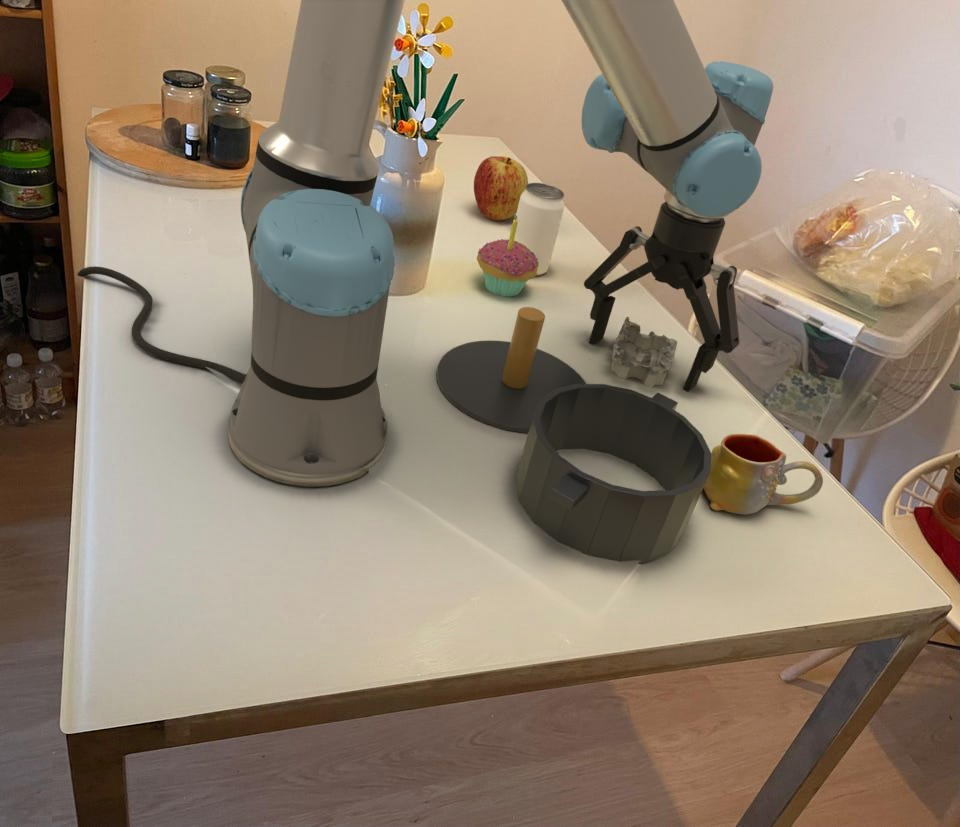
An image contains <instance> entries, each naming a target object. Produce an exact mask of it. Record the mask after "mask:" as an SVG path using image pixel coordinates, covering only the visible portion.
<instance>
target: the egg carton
mask: <svg viewBox="0 0 960 827" xmlns="http://www.w3.org/2000/svg"><path fill="white" fill-rule="evenodd" d="M624 319H625V320H624V321H623V323H622V326H621V328H620V330H619V332H618V333H617V334H618V335H617V337H616V339H615V341H614V343H613V347H612V357H611V364H610V365H611V366H610V371H612V372H614V373H615V374H616V376H617V378H619V379H623V380H627V379H629V378H636V379H638V380H640V381H641V382H642V383H643V385H644V386H645V387H649V388H653V387H654V386H664V382H665V380H666V377H667V375H668V374H667V373H668V370H670V369H671V368H672V366H673V362H674V358H675V354H676V351H677V347H678V341H677V339H674V338H669V337H667V336H666V335H664V334H662V335H658V334H656V333H655V331H652V330H651V331H650V332H649V334H646V333H641V326H640V324H638V323H637V322H633V321H631V320H630V317H629V316H626V317H625V318H624ZM628 342H631V343H633V345H634V346H635V347H637V348H635V350H634V353H633V354H632V355H631V359H630V360H629V361H628V362H627V364H622V361H623V359H624V357H625V353H626V351H627V349H626V346H627V343H628ZM650 349H655V350H658V353H659V354H658V356H657V360H656V364H657V366H652V365H651V361H652V357H653V356H652V355H653V354H652V352H651V351H649V350H650ZM646 350H648V351H646Z"/></svg>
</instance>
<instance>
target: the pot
mask: <svg viewBox="0 0 960 827" xmlns="http://www.w3.org/2000/svg"><path fill="white" fill-rule="evenodd" d="M678 405H679V402H678V401H676V400H674V399H672V398H670V397H669V396H667V395H664V394H662V393H660V392H656V393H655V394H654V395H653V396H652V397H651V396H649V395H645V394H643V393H641V392H638V391H636V390H633V389H629V388H624V387H620V386H616V385H615V386H614V385H611V384H604V383H586V384H575V385H571V386H567V387H563V388H559V389H555V390H553V391H552V392H550V393H549V394H548V395H546V396H545V397H544V398H542V399H541V400H540V401H539V402H538V405H537V407H536V410H535V413H534V415H533V418H532V422H531V425H530V429H529V432H528V433H527V437H526V440H525V443H524V447H523V451H522V454H521V457H520V458H521V459H520V462H519V465H518V469H517V473H516V475H515V480H514V482H515V489H516V493H517V497H518V498H517V499H518V502H519V504H520V506H521V507H522V509H523V510H524V511H525V513H526V514H527V516H528V517H529V518H530V521H531V522H532V523H533V524H534V525H536V526H537V527H538V528H539V529H541V530H542V531H544V532H545V533H546V534H547V535H548V536H549V537H550V538H553V540H555V541H556V542H557V543H559V544H562V545H564V546H566V547H569V548H570V549H573V550H575V551H577V552H579V553H582V554H584V555H586V556H590V557H595V558H599V559H605V560H609V561H615V562H632V561H639V562H638V565H640V564H641V565H642V564H646V563H649V562H653V561H656V560H658V559H660V558H662V557H664V556H666V554H668V553H670V552H671V551H672V550H673V549H674V548H675V547H676V545H677V543H678V542H679V541H680V539H681V537H682V536H683V535H684V533H685V530H686V528H687V526H688V524H689V521H690V519H691V517H692V515H693V512H694V510H695V508H696V506H697V504H698V501H699V499H700V496H701V494H702V492H703V491H704V486H705V483H706V481H707V479H708V477H709V474H710V472H711V455H712V454H711V453H712V451H711V450H710V448H709V445H708V443H707V441H706V439H705V437H704V435H703V434H702V433H701V432H700V431H699V430H698V429H697V428H696V427H695V426H694V424H692V422H691V421H690V420H688V419H687V418H686V417H685V416H684V415H683V414H681V413H680V412H678V411H677V410H676V409H677V407H678ZM581 449H582V450H589V451H593V452H599V453H604V454H608V455H612V456H614V457H617V458H618V459H621V460H623V461H626V462H628V463H630V464H632V465H635V466H636V467H637V468H639V469H640V470H642V471H643V472H645V473H646V474H648V475H649V476H651V477H652V478H654V479H655V480H656V482H657V483H658V484H659V485H660V487H662V489H663V490H639V489H634V488H630V487H625V486H620V485H615V484H611V483H609V482H607V481H605V480H602V479H600V478H598V477H595V476H593V475H590V474H588V473H586V472H584V471H582V470H581V469H579V467H578V468H577V466H575V465H574V464H572V463H571V462H569V461H568V460H567V459H565V457H562V456H561V455H560V454H559V453H558V452H557V451H560V450H581Z"/></svg>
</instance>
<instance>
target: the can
mask: <svg viewBox="0 0 960 827" xmlns="http://www.w3.org/2000/svg"><path fill="white" fill-rule="evenodd" d="M564 197H565V193H564V192H563V191H562V189H560V188H558V187H556V186H555V185H551V184H547V183H542V182H528V184H527V185H526V189H525V191H524V192H523V193H522V194H521V197H520V201H519V205H518V209H517V213H516V214H515V216H516V215H517V220H518V224H517V229H516V233H515V238H514V241H517V242H519V243H521V244H523V245H524V246H526V248H528V249H530V251H532V252H533V253H534V255H536V258H537V259H538V262H539V264H538V265H539V266H538V267H537V273H536V275H535V277H538V276H542V275H544V274H545V273H547V272H548V270H549V267H550V264H551V260H552V256H553V253H554V247H555V245H556V241H557V237H558V233H559V230H560V225H561V222H562V218H563V214H564V209H565V202H564Z"/></svg>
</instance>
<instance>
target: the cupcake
mask: <svg viewBox="0 0 960 827" xmlns="http://www.w3.org/2000/svg"><path fill="white" fill-rule="evenodd" d="M511 224H512V225H511V229H510V234H509V238H508V239H503V238H501V239H498V240H497V239H496V240H494V241H490V242H486V243H485V244H484V245H483V246H482V247H481V248H479V249H478V252H477V256H476V261H477V263H478V266H479V267H480V269H481V270H482V273H483V278H484V287H485V288H486V289H487V290H488V291H489V292H490V293H493V294H495V295H497V296H502V297H516V296H518V295H520V293H521V292H522V290H523V288H524V287H525V285H526V284H527V283H528V281H529V280H531V279H534V278H535V277H536V276H535V275H536V273H537V267H538V266H539V265H538V264H539V262H538V259H537V258H536V255H534V253H533V252H532V251H530V249H528V248H526V246H524V245H523V244H521V243H519V242H517V241H514V238H515V233H516V229H517V224H518V220H517V215H516V214H515V218H514V219H513V220H512V223H511Z"/></svg>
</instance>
